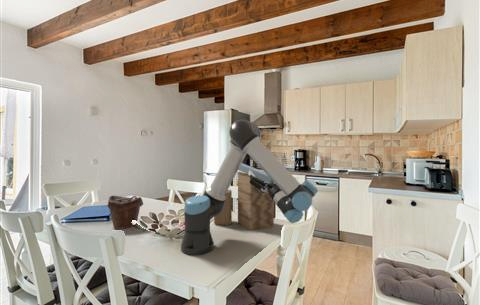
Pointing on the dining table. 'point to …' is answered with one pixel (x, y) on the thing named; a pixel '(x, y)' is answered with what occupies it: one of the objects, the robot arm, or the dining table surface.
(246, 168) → the slate rail
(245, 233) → the dining table surface
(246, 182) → the walnut stand
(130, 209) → the brown pot
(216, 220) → the wooden block
